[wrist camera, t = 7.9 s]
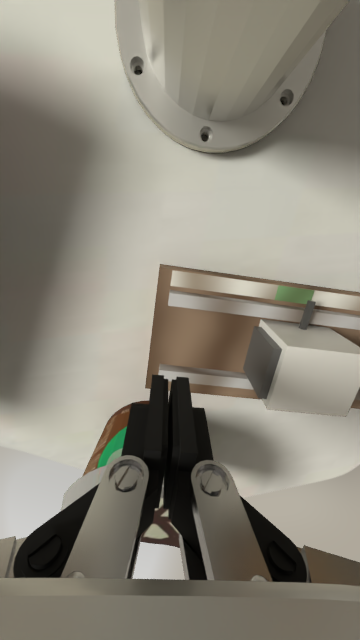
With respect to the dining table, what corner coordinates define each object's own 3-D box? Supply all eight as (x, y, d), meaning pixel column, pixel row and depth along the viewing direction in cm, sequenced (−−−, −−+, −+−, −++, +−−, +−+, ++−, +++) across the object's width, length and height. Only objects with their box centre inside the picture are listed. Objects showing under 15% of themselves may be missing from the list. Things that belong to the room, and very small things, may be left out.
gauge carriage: (239, 370, 23) (259, 408, 18) (260, 290, 20) (289, 311, 15) (310, 378, 23) (346, 416, 18) (338, 301, 21) (388, 323, 16)
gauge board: (146, 378, 24) (139, 429, 18) (160, 264, 21) (157, 280, 15) (374, 401, 27) (436, 453, 21) (424, 301, 23) (516, 329, 17)
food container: (227, 419, 27) (259, 524, 17) (196, 458, 28) (210, 573, 19) (120, 370, 24) (91, 462, 15) (93, 416, 26) (51, 525, 16)
